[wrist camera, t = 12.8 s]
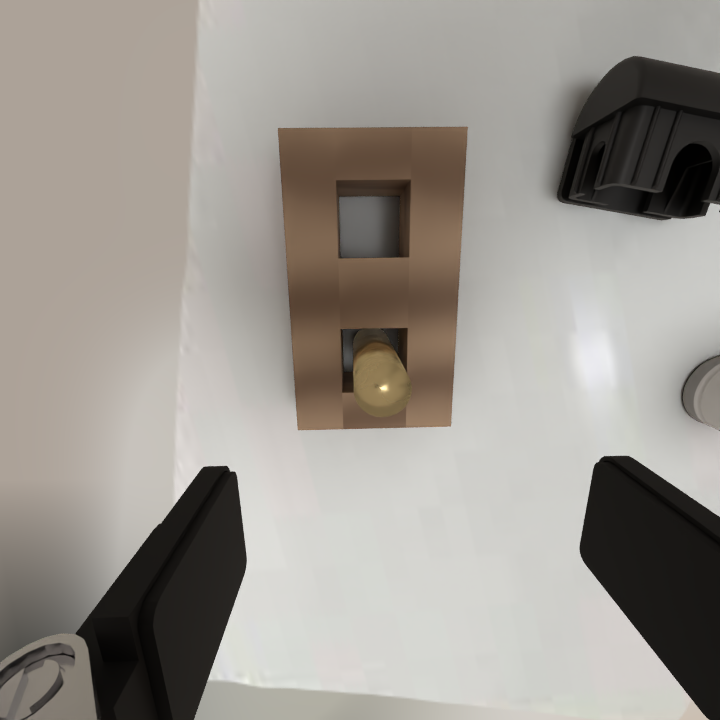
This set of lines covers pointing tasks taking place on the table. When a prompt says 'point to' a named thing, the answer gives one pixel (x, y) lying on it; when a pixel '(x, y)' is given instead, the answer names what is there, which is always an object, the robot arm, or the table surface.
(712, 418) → the travel mug
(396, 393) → the brass peg
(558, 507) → the table surface
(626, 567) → the robot arm
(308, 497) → the table surface
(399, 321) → the hole block
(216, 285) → the table surface
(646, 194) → the end cap
